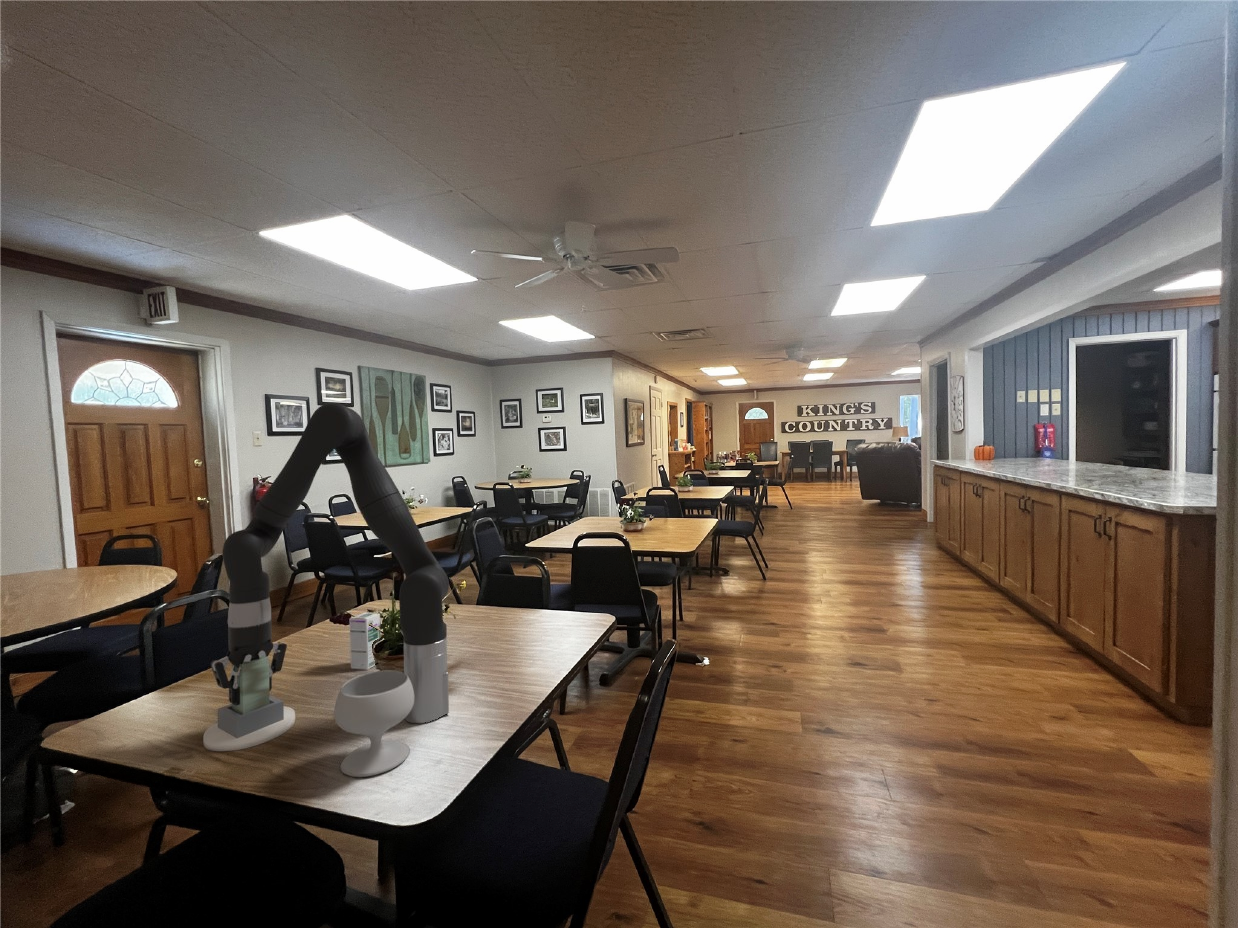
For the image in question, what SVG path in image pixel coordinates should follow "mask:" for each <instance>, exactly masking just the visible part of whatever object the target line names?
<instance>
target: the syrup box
mask: <svg viewBox="0 0 1238 928" xmlns="http://www.w3.org/2000/svg"><path fill="white" fill-rule="evenodd" d="M370 623H372V624H373V625H374V626H376V627H380V628H381V614H380V613H379V612H370V611H369V612H362V613H360V614H358V615H355V616H353V617H350V618H349V649H350V654H349V655H350V668H351V669H353V670H354V669H355V670H363V671H364V670H367V671H368V670H370V669H371V668H373V667H375V666H376V665H375V660H374V658H373V653H372V644H373V642H374V641H375V640H377V639H379V638H381V629H380V630H376V629H375V628H373V627H371V626H369V624H370Z"/></svg>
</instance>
